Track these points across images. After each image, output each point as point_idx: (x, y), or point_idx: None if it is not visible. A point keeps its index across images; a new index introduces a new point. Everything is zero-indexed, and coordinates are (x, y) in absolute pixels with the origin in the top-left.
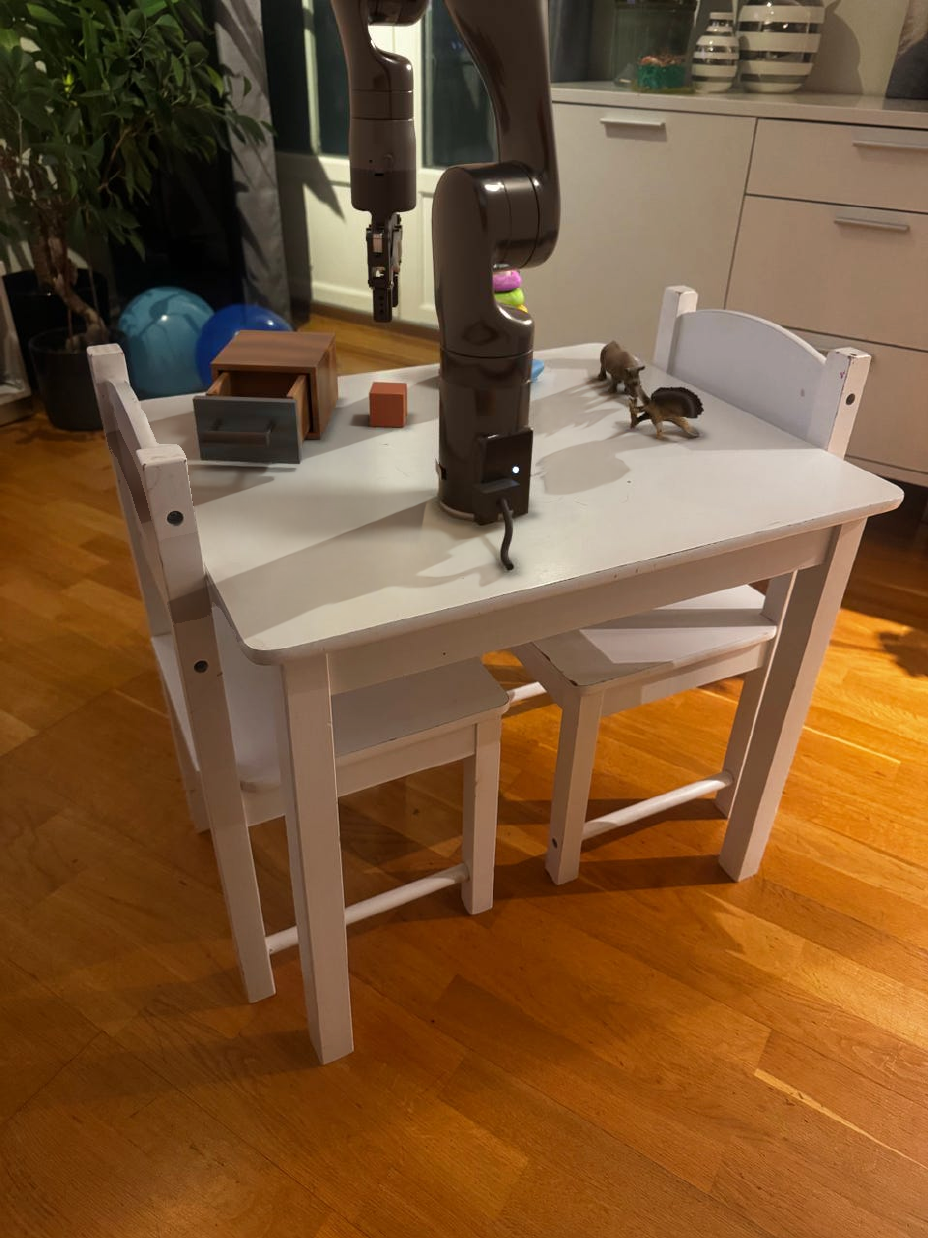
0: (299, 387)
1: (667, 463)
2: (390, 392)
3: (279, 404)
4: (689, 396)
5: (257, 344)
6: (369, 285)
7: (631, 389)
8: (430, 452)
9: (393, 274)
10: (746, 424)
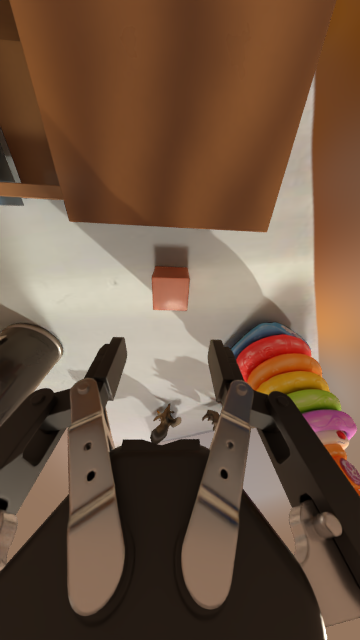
0: (19, 196)
1: (126, 409)
2: (156, 298)
3: None
4: (155, 440)
5: (195, 4)
6: (30, 395)
7: (208, 413)
8: (108, 315)
9: (221, 400)
10: (179, 432)
